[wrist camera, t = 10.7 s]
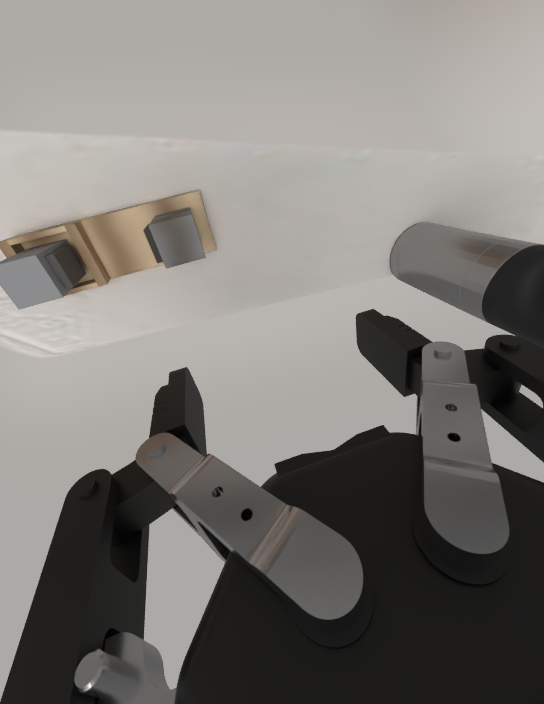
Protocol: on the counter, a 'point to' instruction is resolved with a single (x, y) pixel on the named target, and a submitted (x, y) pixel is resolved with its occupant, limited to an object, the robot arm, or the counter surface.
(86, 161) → the counter surface
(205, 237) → the rail
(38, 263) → the block
